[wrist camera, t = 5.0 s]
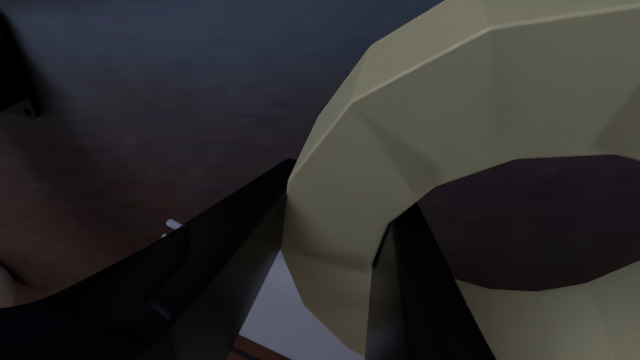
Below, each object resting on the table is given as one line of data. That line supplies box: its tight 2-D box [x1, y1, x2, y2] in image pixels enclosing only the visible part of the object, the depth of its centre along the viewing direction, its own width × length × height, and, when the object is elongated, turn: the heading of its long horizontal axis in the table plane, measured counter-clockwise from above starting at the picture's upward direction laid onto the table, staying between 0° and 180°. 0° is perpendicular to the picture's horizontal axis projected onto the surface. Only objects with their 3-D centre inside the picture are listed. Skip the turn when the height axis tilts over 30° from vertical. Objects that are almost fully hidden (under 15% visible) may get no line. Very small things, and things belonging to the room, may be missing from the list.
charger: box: [162, 219, 365, 360], centre depth 25 cm, size 5×9×15 cm
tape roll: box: [280, 0, 640, 360], centre depth 9 cm, size 11×11×3 cm
